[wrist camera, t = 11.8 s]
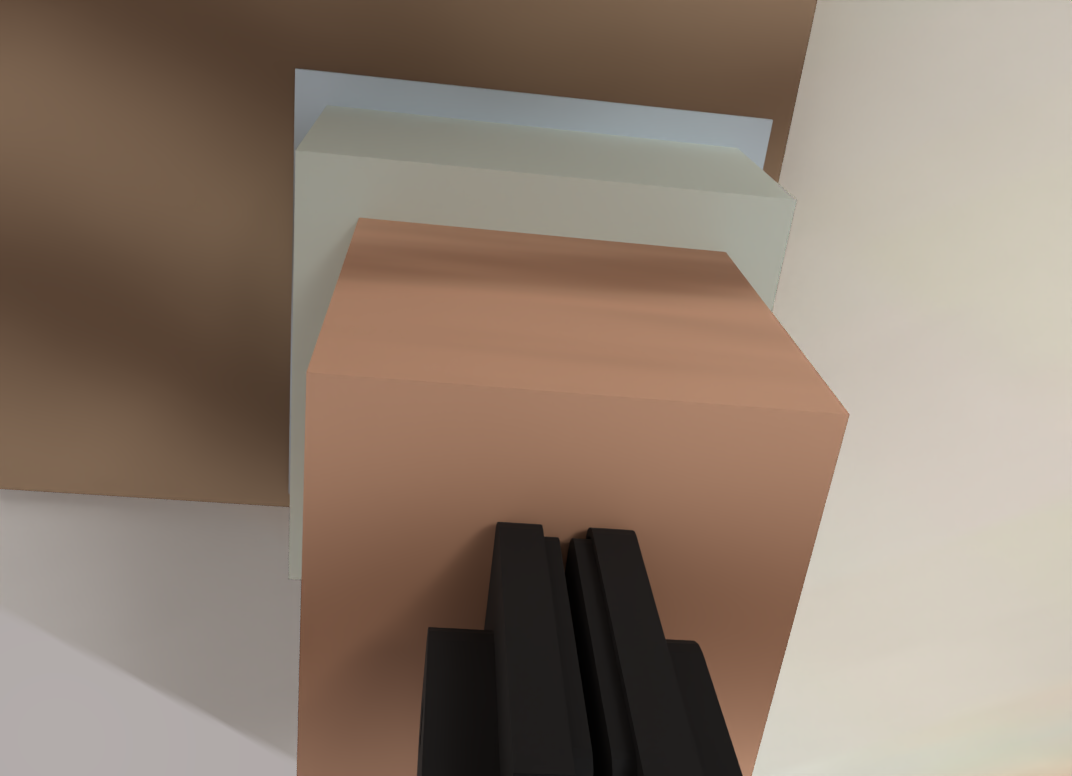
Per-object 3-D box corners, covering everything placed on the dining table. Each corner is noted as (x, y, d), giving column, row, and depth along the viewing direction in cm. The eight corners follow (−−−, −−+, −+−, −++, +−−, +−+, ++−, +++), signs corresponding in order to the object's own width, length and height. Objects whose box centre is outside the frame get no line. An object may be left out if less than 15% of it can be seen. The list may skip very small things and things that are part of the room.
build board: (-118, -712, 15) (-166, -763, 14) (906, -528, 17) (939, -561, 16) (14, 461, 24) (-10, 490, 22) (692, 506, 25) (703, 535, 24)
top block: (358, 217, 16) (306, 371, 11) (725, 252, 17) (849, 414, 11) (344, 535, 19) (296, 790, 13) (664, 555, 19) (743, 806, 14)
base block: (326, 105, 19) (295, 150, 16) (737, 147, 20) (796, 199, 17) (316, 472, 23) (288, 579, 19) (669, 495, 24) (706, 602, 20)
